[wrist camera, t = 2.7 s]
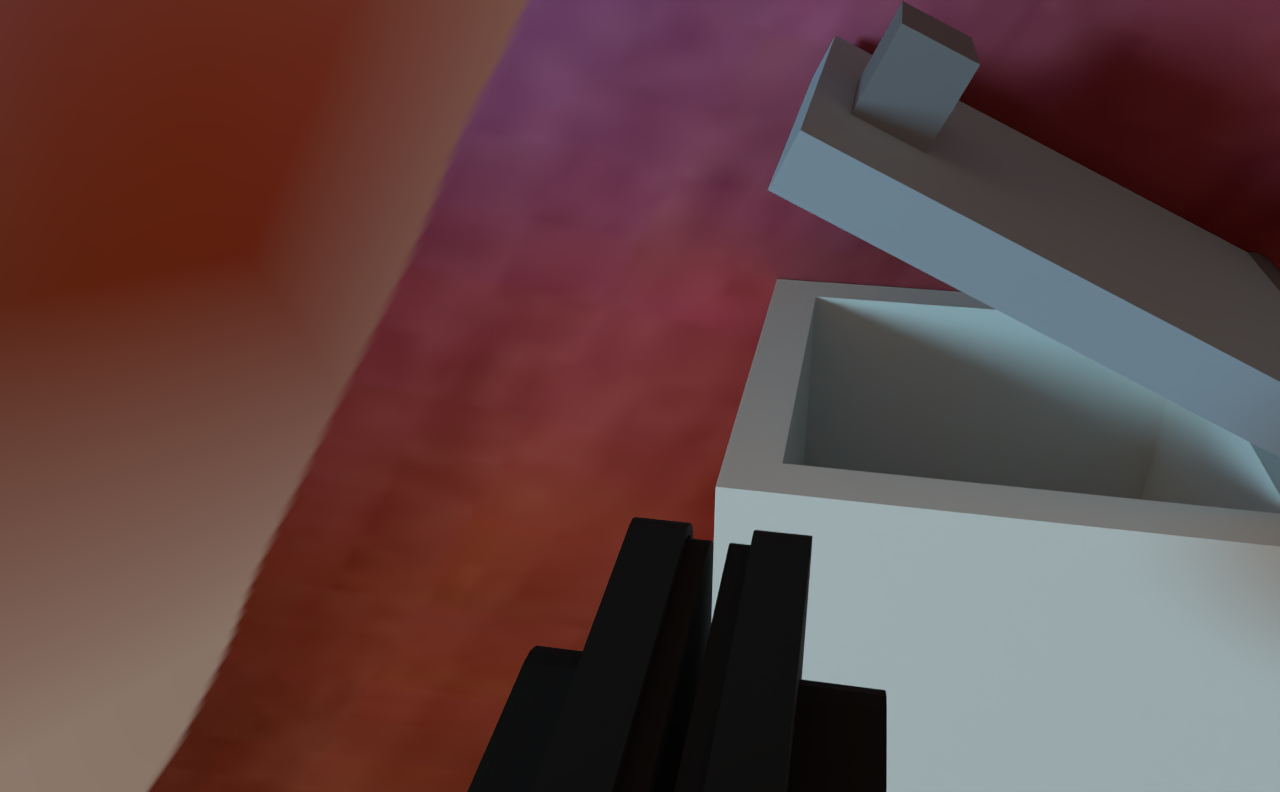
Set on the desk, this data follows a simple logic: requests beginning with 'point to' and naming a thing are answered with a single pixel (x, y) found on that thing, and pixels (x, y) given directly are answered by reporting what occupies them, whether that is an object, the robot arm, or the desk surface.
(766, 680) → the robot arm
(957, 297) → the storage box
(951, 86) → the side door
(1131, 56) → the desk surface
